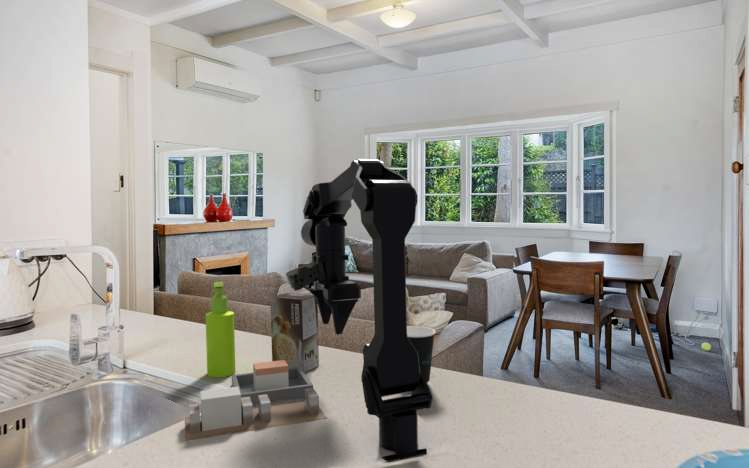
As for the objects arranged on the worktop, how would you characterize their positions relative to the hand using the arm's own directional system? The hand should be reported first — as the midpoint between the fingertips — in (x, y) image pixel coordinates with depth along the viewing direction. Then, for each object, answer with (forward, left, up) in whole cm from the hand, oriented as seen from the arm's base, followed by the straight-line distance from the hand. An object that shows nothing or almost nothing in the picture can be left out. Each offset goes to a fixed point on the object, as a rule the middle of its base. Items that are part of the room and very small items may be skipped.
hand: (331, 328), depth 102 cm
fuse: (-11, +22, -11) cm, 27 cm away
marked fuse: (+1, +12, -11) cm, 16 cm away
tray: (+1, +12, -12) cm, 17 cm away
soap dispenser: (+18, +20, -12) cm, 29 cm away
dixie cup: (-4, -16, -12) cm, 21 cm away
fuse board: (-11, +16, -12) cm, 23 cm away
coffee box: (+17, +4, -12) cm, 21 cm away
